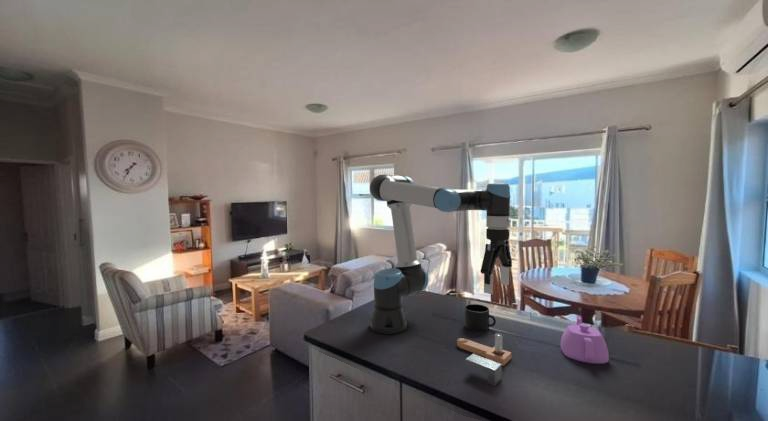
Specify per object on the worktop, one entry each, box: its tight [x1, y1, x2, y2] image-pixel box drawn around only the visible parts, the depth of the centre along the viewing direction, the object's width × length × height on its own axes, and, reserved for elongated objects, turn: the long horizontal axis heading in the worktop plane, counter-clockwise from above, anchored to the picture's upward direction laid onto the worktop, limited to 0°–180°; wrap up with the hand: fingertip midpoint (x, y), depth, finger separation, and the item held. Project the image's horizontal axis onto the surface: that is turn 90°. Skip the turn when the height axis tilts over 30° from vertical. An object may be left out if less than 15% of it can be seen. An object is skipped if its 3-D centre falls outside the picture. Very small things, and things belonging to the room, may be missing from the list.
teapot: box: [560, 315, 610, 365], centre depth 105 cm, size 13×20×11 cm
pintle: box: [494, 333, 503, 356], centre depth 102 cm, size 2×2×8 cm
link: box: [456, 337, 512, 367], centre depth 106 cm, size 18×6×2 cm, turn 46°
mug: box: [464, 303, 497, 333], centre depth 127 cm, size 9×12×9 cm
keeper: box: [465, 353, 503, 387], centre depth 92 cm, size 9×4×5 cm, turn 46°
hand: (496, 288), depth 110 cm, fingers open, 13 cm apart
